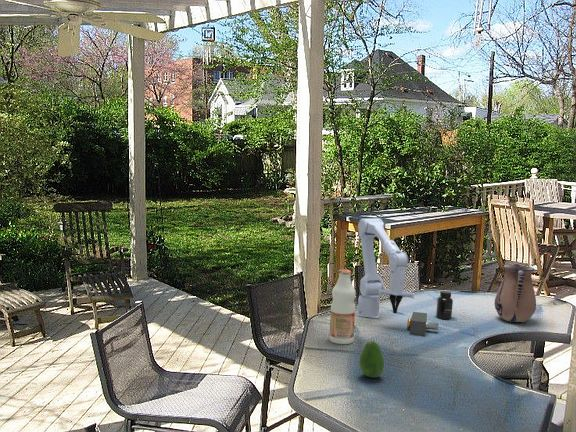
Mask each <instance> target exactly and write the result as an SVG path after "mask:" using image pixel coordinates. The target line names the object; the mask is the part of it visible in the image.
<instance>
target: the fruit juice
mask: <svg viewBox="0 0 576 432" xmlns="http://www.w3.org/2000/svg"><path fill="white" fill-rule="evenodd" d="M337 272H338V277H337V278H338V279H337V282H336V283H335V285H334V287H333V288H332V291H331V296H332V301H331V305H330V317H329V337H328V338H329V340H330V342H331V343H334V344H338V345H349V344H352V343H353V342H354V337H355V336H354V335H355V319H356V318H355V317H356V304H355V299H356V289H355V287H354V286H353V283H352V279H351V275H352V270H350V269H346V268H345V269H344V268H342V269H338V271H337Z"/></svg>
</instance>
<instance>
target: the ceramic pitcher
mask: <svg viewBox="0 0 576 432" xmlns="http://www.w3.org/2000/svg"><path fill="white" fill-rule="evenodd" d="M503 268H504V269H505V273H504V275H503V276H504V277H503V278H502V281H501V284H500V286H499V288H498V290H497V292H496V295H495V298H494V308H495V311H496V313H497V315H498V316H499V317H500V318H501V319H502V320H504V321H506V322H508V321H511V322H510V323H513V322H522V323H525V322H527V321H529V319H531V318H532V317H533V315H534V314H535V312H536V311H537V309H536V308H537V300H536V293H535V288H534V284H533V279H532V274H533V272H534V271H535V269H536V268H534V267H532V266H529V265H528V266H527V265H524V266H522V265H520V264H517V263H516V264H515V263H514V264H504V265H503Z"/></svg>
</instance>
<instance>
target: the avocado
mask: <svg viewBox="0 0 576 432" xmlns="http://www.w3.org/2000/svg"><path fill="white" fill-rule="evenodd" d="M384 367H385V360H384V357H383V353H382V351H381V348H380V346H379V344H378V343H377V342H375V341H372V340H371V341H368V342H366V343H365V345H364V348H363V349H362V352H361V354H360V357H359V368H360V370H361V373H362V374H363V375H364V376H366V377H367V378H374V379H375V378H378V377H379V376H381V375H382V373H383V371H384Z"/></svg>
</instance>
